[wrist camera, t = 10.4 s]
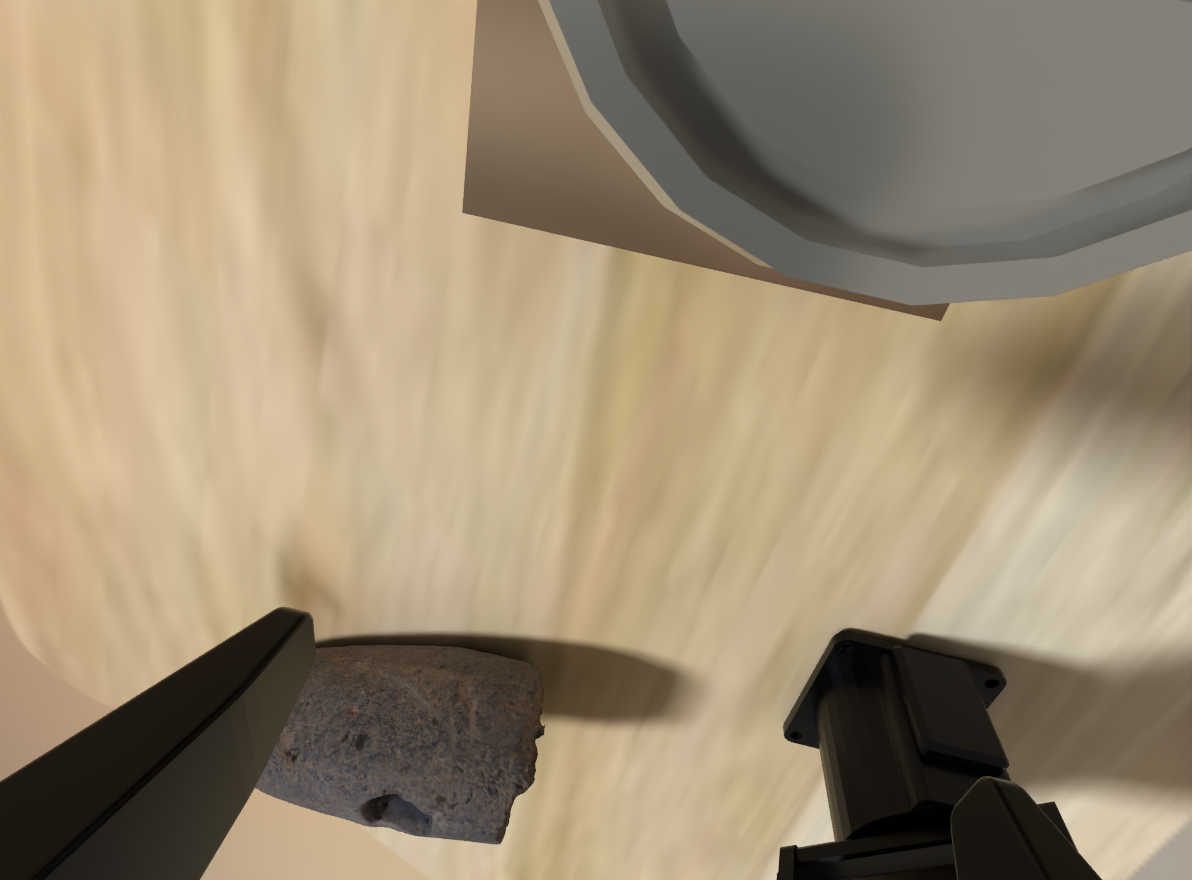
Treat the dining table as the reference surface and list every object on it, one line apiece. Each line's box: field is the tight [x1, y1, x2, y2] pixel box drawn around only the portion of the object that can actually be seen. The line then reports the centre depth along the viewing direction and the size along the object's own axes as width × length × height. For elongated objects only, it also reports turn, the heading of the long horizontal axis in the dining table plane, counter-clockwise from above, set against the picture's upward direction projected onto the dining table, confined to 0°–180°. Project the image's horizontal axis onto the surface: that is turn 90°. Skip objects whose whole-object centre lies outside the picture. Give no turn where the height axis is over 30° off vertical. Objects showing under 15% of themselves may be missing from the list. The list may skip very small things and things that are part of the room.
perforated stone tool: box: [255, 645, 545, 844], centre depth 26 cm, size 15×5×7 cm, turn 92°
